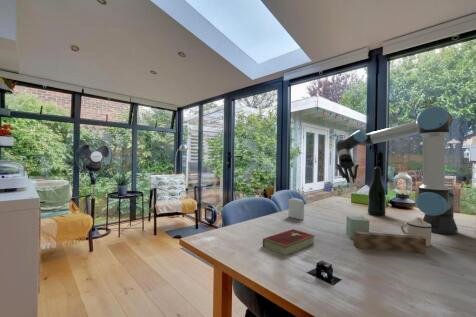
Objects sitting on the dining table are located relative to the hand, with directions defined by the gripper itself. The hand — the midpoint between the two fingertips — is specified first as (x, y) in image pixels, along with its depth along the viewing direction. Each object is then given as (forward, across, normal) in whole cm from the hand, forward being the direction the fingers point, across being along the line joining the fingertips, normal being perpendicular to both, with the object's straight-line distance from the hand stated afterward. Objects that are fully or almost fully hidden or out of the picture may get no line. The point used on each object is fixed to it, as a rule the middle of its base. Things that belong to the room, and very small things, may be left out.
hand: (352, 187), depth 129 cm
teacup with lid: (+30, -22, -2) cm, 37 cm away
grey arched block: (+9, +30, -22) cm, 38 cm away
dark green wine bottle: (-8, -25, -40) cm, 48 cm away
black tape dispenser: (+61, +24, +28) cm, 71 cm away
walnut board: (+39, -6, +7) cm, 40 cm away
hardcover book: (+43, +35, +11) cm, 57 cm away
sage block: (+28, +2, -3) cm, 29 cm away
